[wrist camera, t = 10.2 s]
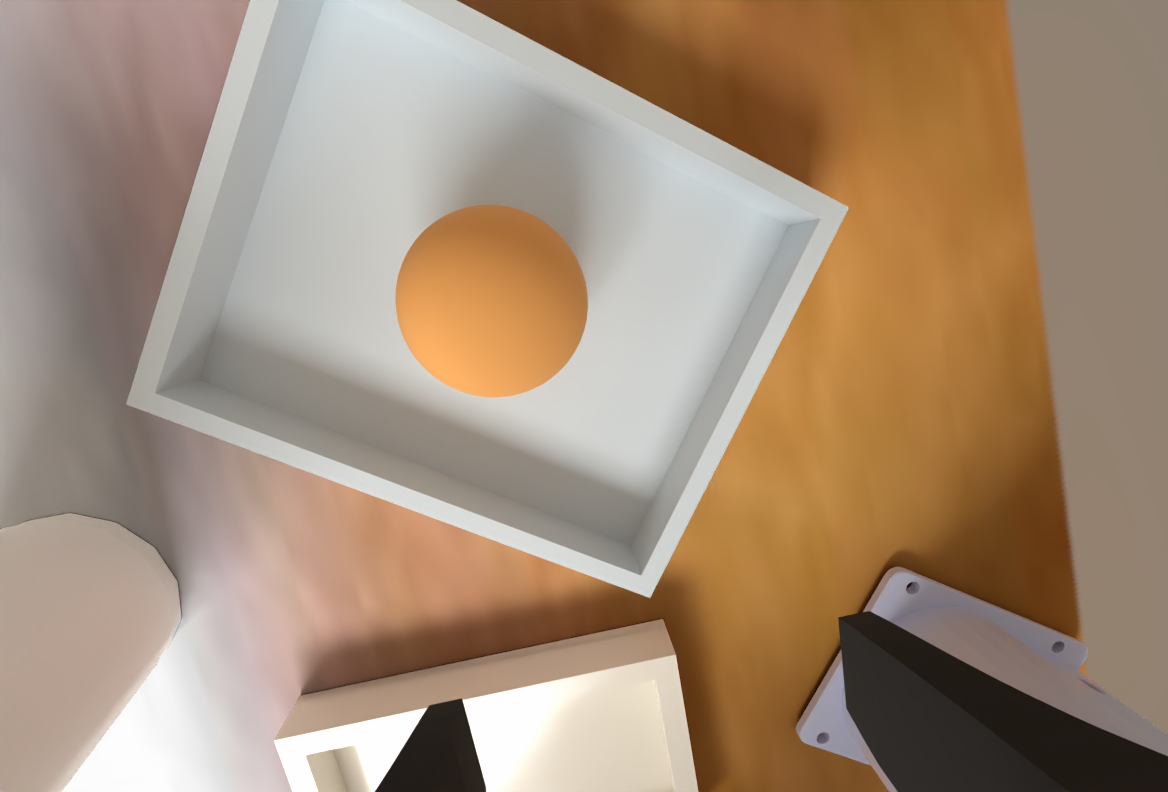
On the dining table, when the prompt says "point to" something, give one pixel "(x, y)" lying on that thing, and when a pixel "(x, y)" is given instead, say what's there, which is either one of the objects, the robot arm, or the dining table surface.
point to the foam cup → (74, 640)
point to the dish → (514, 719)
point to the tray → (410, 205)
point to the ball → (491, 301)
